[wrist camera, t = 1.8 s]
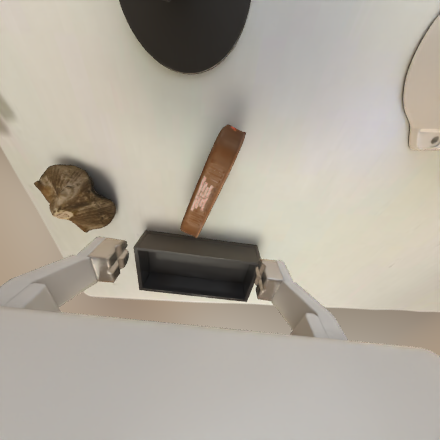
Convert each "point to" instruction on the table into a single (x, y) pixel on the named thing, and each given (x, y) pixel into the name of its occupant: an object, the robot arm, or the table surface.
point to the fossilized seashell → (75, 197)
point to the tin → (212, 179)
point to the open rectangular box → (195, 266)
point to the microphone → (187, 30)
